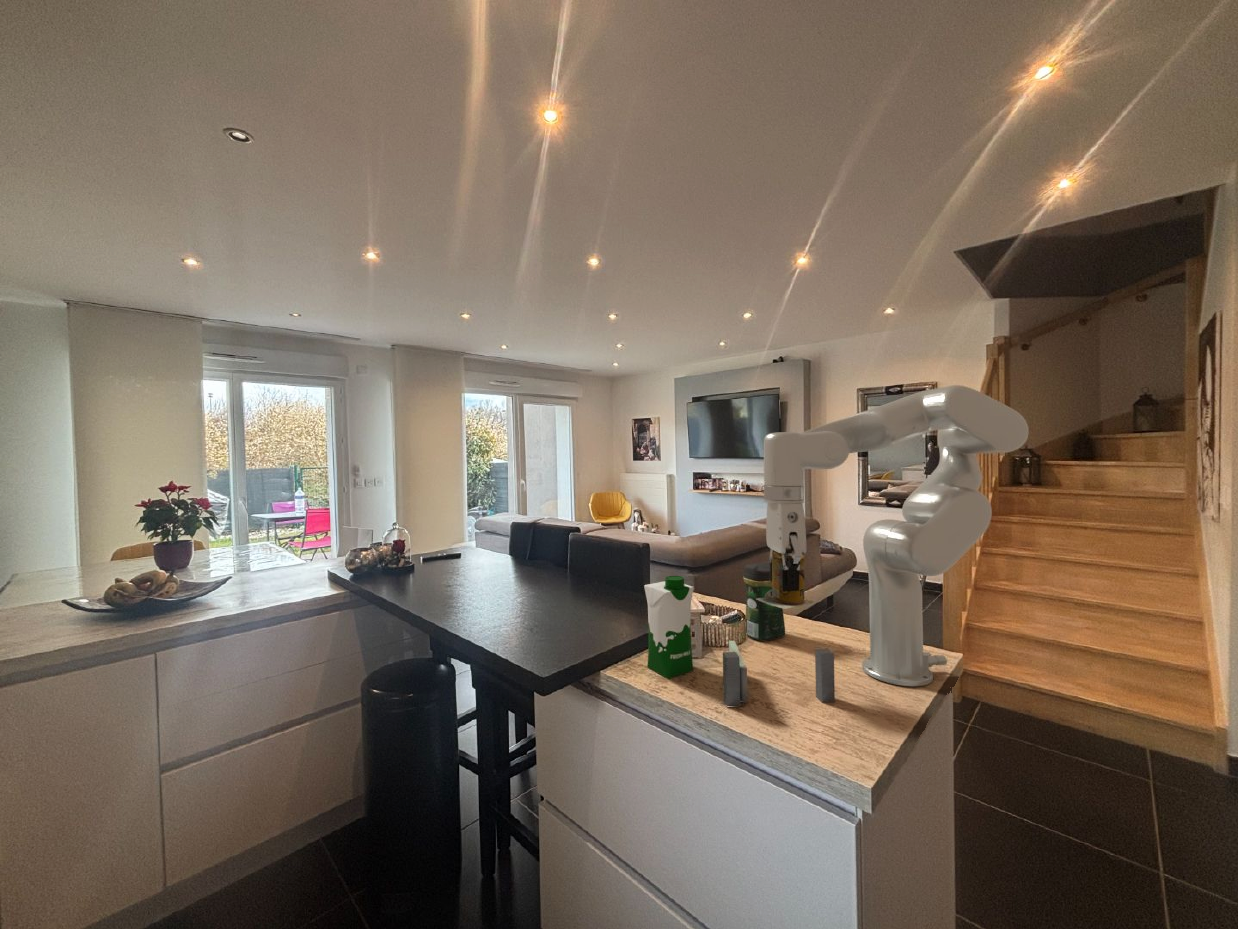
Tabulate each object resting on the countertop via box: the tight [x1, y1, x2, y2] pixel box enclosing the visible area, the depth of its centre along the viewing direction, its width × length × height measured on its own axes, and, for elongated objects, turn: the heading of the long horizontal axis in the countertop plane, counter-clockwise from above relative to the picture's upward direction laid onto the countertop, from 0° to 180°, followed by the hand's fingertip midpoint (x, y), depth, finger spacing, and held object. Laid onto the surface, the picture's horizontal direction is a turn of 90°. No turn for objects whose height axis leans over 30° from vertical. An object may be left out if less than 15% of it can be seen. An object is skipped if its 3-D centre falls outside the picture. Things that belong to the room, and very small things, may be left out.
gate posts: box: [722, 647, 836, 707], centre depth 89 cm, size 20×2×9 cm, turn 93°
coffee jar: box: [742, 561, 786, 642], centre depth 122 cm, size 10×8×19 cm
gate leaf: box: [728, 640, 749, 703], centre depth 95 cm, size 2×14×6 cm, turn 175°
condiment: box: [757, 551, 814, 610], centre depth 95 cm, size 7×8×12 cm
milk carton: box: [643, 575, 695, 680], centre depth 104 cm, size 9×9×20 cm
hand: (784, 585), depth 95 cm, fingers closed on condiment, 6 cm apart
